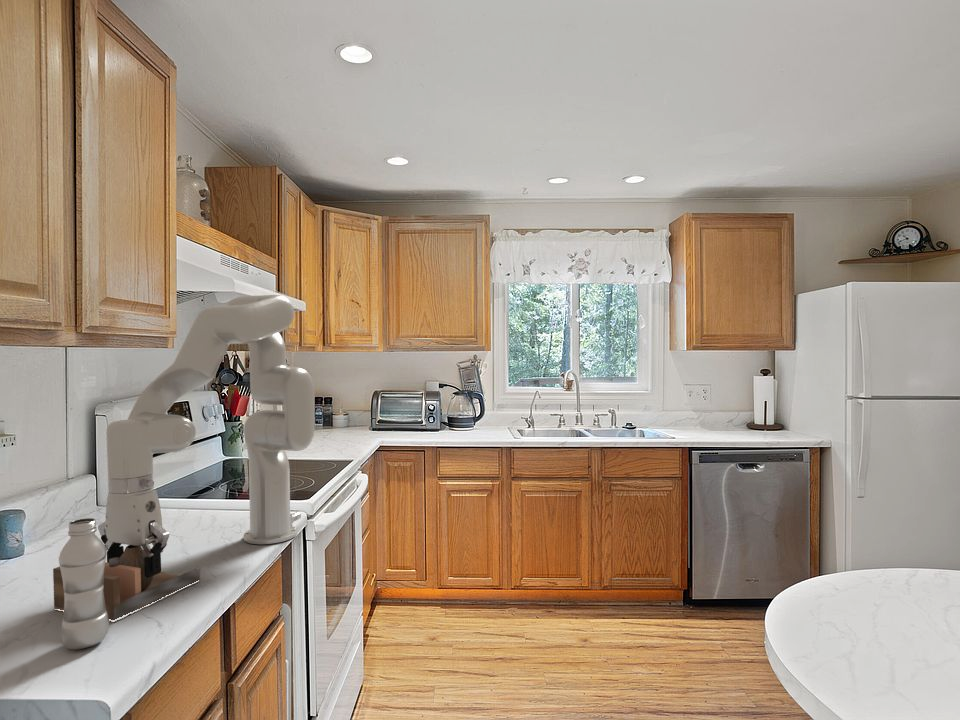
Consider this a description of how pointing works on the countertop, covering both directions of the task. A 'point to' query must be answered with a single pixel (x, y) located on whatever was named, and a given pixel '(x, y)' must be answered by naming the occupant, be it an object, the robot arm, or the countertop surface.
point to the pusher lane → (115, 608)
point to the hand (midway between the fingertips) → (134, 571)
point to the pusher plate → (125, 578)
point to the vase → (136, 562)
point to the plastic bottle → (83, 586)
